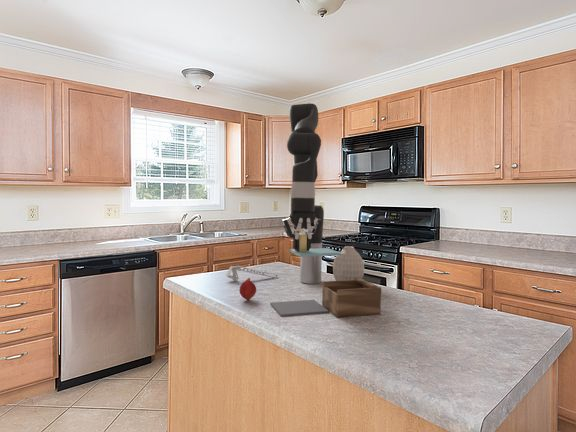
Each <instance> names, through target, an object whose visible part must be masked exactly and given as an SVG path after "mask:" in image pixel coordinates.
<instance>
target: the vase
mask: <svg viewBox="0 0 576 432" xmlns="http://www.w3.org/2000/svg"><path fill="white" fill-rule="evenodd" d="M339 252H340V253H341V255H335V258H334V260H333V264H332V275H333V277H334V281H340V280H354V277H359V278H361V279H363V277H364V275H365V264H364V261H363V258H362V256H361V254H360V253H359V251H357V250H356V249H355V247H354V246H349V245H348V246H346V245H345V246H344V247H343V248H342V250H340V251H339Z"/></svg>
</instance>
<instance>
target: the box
mask: <svg viewBox="0 0 576 432" xmlns="http://www.w3.org/2000/svg"><path fill="white" fill-rule="evenodd" d="M321 299H322V300H321V301H322V304H321V305H322V306H323V307H324V308H326V309H327V310H328V311H329V313H330V314H332V315H333V316H334V317H335V318H337V319H341V318H353V317H364V316H376V315H381V307H382V306H381V305H382V302H381V301H382V287H381V286H379V285H376V284H374V283H372V282H370V281H368V280H365V279H363V278H362V279H361V278H359V277H354V280H340V281H336V280H326V281H325V280H324V281H322V298H321Z"/></svg>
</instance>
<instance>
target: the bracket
mask: <svg viewBox="0 0 576 432" xmlns="http://www.w3.org/2000/svg"><path fill="white" fill-rule="evenodd" d="M242 268H243V269H242ZM238 272H247V273H250V274H253V275H254V274H255V275H260V276H264V277H268V278H273V279H277V278H278V275H279V274H277V273H272V272H268V271H265V270H264V271H261V270H256V269H252V268H250V267H246V266H241V265H235V266H234V265H230V266H229V269H228V271H227V273H226V275H225V277H227V278H230V279H232V280H233V281H235V282H238V280H239V279H240V278H239V275H238ZM230 274H232V275H230ZM272 275H273V276H272Z"/></svg>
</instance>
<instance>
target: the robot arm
mask: <svg viewBox="0 0 576 432" xmlns="http://www.w3.org/2000/svg"><path fill="white" fill-rule="evenodd" d="M288 112H289V116H288V117H289V124H290V130H291V131H290V132H291V133H290V134H289V135H288V138H287V141H286V142H287V143H286V148H287V150H288V152H289V154H291V155H292V156H293V159H294V160H293V161H294V164H293V165H292V169H291V170H292V173H291V175H292V177H291V178H292V179H291V182H292V183H291V188H290V189H291V190H290V191H291V193H290V215H289V217H288V218H285V219H284V218H283V219H281V223H282V225H283V229H284V231H285V233H286V236H287V237H288V238H291V239H292V249H295V251H299V239H298V238H299V234H301V230H302V229H303V230H304V234H307V251H309V249H317V248H323V233H324V232H323V231H324V230H323V229H324V218H325V213H324V208H323V206H322V205H316V203H315V202H316V201H315V199H316V187H315V183H316V181H317V178H318V177H319V176H318V175H319V174H318V172H319V171H318V162H317V160H318V156H319V152H320V151H321V146H322V140H321V137H320V135H319V134H318V133H316V129H317V126H318V124H319V109H318V106H317V105H316V104H314V103H311V102H310V103H299V104H291V105H290V106H289V111H288ZM291 223H292V225H293V228H292V229H291ZM312 227H313V228H312ZM322 260H323V256H309V257H300V265H299V266H300V268H299V271H300V272H299V282H300V283H303V284H311V285H313V284H314V285H315V284H320V283H322V268H323V267H322V264H323V263H322V262H323V261H322Z"/></svg>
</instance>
